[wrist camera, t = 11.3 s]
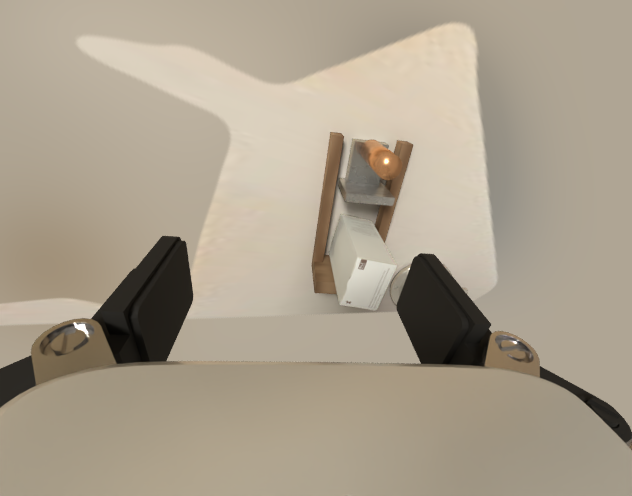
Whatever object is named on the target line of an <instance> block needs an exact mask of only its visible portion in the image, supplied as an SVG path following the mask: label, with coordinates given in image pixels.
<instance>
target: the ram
mask: <svg viewBox="0 0 632 496" xmlns="http://www.w3.org/2000/svg"><path fill="white" fill-rule="evenodd" d="M388 147H389V145H388V144H386V143H384V142H378V141H376V140H360V139H352V145H351V150H350V155H349V161H348V166H347V172H346V177H345V178H339V182H338V186H339V189H340V191H341V193H342V196H343V198H344V200H345V202H355V203H366V204H377V205H388V206H393V204H394V201H395V197H394V196H393V195H392V194H391V192H390V191H389V190H388V189H387V188H386V187H385V186H384V184H383V183H382V182H380V179H383V180H392V179H394V178H396V177H397V176H398V175H399V174H400V172H401V169H402V161H401V159H400V158H399V157H398V156H397V155H395V154H394V153H393V152H391V151H390V150H388Z"/></svg>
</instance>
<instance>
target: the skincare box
mask: <svg viewBox="0 0 632 496" xmlns="http://www.w3.org/2000/svg"><path fill="white" fill-rule="evenodd" d="M329 256H330V261H331V266H332V271H333V276H334V281H335V286H336V291H337V296H338V301H339V305H342V306H349V307H357V308H363V309H369V310H375V311H376V310H377V309H378V307H379V304H380V302H381V300H382V298H383V296H384V294H385V292H386V289H387V287H388V285H389V283H390V281H391V279H392V276H393V274H394V272H395V270H396V268H397V264H396V262H395V261H394V259H393V257H392V255H391V254H390V252H389V250H388V248H387V247H386V245H385V243H384V241H383V240H382V238H381V236H380V234H379V233H378V231H377V229H376V227H375V226H374V224H373V222H372V221H371V220H367V219H362V218H358V217H354V216H349V215H345V214H341V215H340V218H339V221H338V224H337V227H336V230H335V233H334V236H333V240H332V243H331V247H330V250H329Z"/></svg>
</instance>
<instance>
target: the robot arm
mask: <svg viewBox="0 0 632 496" xmlns="http://www.w3.org/2000/svg"><path fill="white" fill-rule="evenodd" d="M467 293H468V290H467V288H461V287H460V285H459V284H458V283H457V282H456V280H455V279H454V278H453V277H452V275H451V273H450V271H449V270H448V268H447V267H446V266H444V265H443V264H442V263H441V262H440V261H439V259H438V258H437V257H436V256H435V255H434V254H422V253H421V254H419V255H418V256H416V257H414V259H413V261H412V264H411V265H409V266H407V267H405V268H404V269H402V270H401V271H400V272H399V273H398V274H397V275H396V276H395V278H394V279H393V281H392V283H391V286H390V295H391V298H392V300H393V302H394V303H395V304H396V305H397V311H398V314H399V316H400V318H401V320H402V323H403V325H404V327H405V329H406V331H407V333H408V336H409V338H410V340H411V342H412V345H413V347H414V349H415V351H416V353H417V355H418V358H419V360H420V362H421V364H404V363H401V364H400V363H341V362H257V361H256V362H253V361H241V362H240V361H166V360H167V358H168V356H169V354H170V351H171V349H172V347H173V345H174V342H175V340H176V338H177V336H178V333H179V331H180V329H181V327H182V324H183V322H184V320H185V318H186V315H187V313H188V311H189V309H190V306H191V304H192V301H193V290H192V282H191V275H190V268H189V262H188V254H187V247H186V242H185V241H181V239H180V237H173V236H162V237H161V238H160V239H159V241H158V242H157V243H156V244H155V246H154V247H153V248H152V249H151V250H150V252H149V253H148V254H147V255H146V257H145V258H144V259H143V260H142V261H141V263H140V264H139V265H138V266H137V267H136V268H135V269H133V270H132V271H131V272H130V273H129V274H128V275H127V277H126V278H125V279H124V280H123V281H122V283H121V284H120V285H119V286H118V288H117V289H116V290H115V291H114V292H113V293H112V295H111V296H110V297H109V298H108V299H107V301H106V302H105V303H104V304H103V305H102V306H101V308H100V309H99V310H98V311H97V312H96V314H95V315H94V316H93V317H92V318H91V319H86V318H81V319H73V320H69V321H66V322H63V323H60V324H58V325H56V326H53V327H52V328H50V329H49V330H47V331H45V332H44V333H43V334H41V335H40V336H39V337H38V338H37V339H36V340H35V342H34V344H33V345H32V349H31V356H29V357H26V358H24V359H22V360H20V361H17V362H15V363H13V364H10V365H8V366H6V367H3V368H1V369H0V496H632V432H631V429H630V427H629V425H628V424H627V423H626V421H625V420H624V418H623V417H622V416H621V415H620V414H619V413H618V412H617V411H616V410H615V409H614V408H613V407H612V406H610V405H609V404H608V403H606V402H604V401H602V400H600V399H599V398H597V397H596V396H593V395H592V394H590V393H588V392H586V391H584V390H583V389H581V388H579V387H577V386H575V385H574V384H572V383H570V382H568V381H566V380H564V379H563V378H561V377H559V376H557V375H555V374H553V373H551V372H550V371H548V370H546V369H544V368H542V367H541V366H540V361H539V357H538V355H537V353H536V351H535V350H534V349H533V348H532V347H531V346H530V345H529V344H528V343H527V342H525V341H524V340H523V339H521V338H519V337H517V336H516V335H513V334H510V333H508V332H503V331H495V332H494V333H491V331H490V330H489V327H490V326H491V323H490V322H489V321H488V320H487V319H486V317H485V316H484V315H483V314H482V312H481V311H480V310H479V309H478V307H477V306H476V305H475V304H474V303H473V301H472V300H471V299H470V298H469V296H468V295H467Z"/></svg>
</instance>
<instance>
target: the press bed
mask: <svg viewBox="0 0 632 496" xmlns="http://www.w3.org/2000/svg"><path fill="white" fill-rule="evenodd" d="M343 139H344V136H343V135H342V134H341V133H333V132H330V139H329V146H328V153H327V160H326V167H325V174H324V181H323V189H322V196H321V203H320V210H319V217H318V224H317V231H316V238H315V245H314V252H313V259H312V273H313V282H314V292H315V293H327V294H337V291H336V286H335V281H334V276H333V271H332V266H331V261H330V256H329V255H324V253H325V247H326V241H327V235H328V229H329V223H330V217H331V211H332V205H333V199H334V193H335V187H336V181H337V175H338V169H339V163H340V157H341V151H342V145H343ZM412 148H413V144H411V143H409V142H406V141H398V140H397V143H396V147H395V151H394V154H395V155H397V156H398V157H399V158H400V159H401V161H402V169H401V172H400V174H399V175H398V176H397V177H396V178H394V179H392V180H387V181H386V185H385V187H386V188H387V189H388V190H389V191H390V192H391V194H392V195H393V196H394V197H395V201H394V204H393V206H388V205H380V208H379V212H378V216H377V219H376V223H375V227H376V229H377V231H378V233H379V234H380V236H381V238H382V240H383V241H384V243H385V240H386V236H387V233H388V229H389V226H390V223H391V219H392V216H393V212H394V209H395V206H396V202H397V199H398V195H399V192H400V189H401V185H402V182H403V178H404V175H405V172H406V168H407V165H408V161H409V158H410V155H411V151H412Z"/></svg>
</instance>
